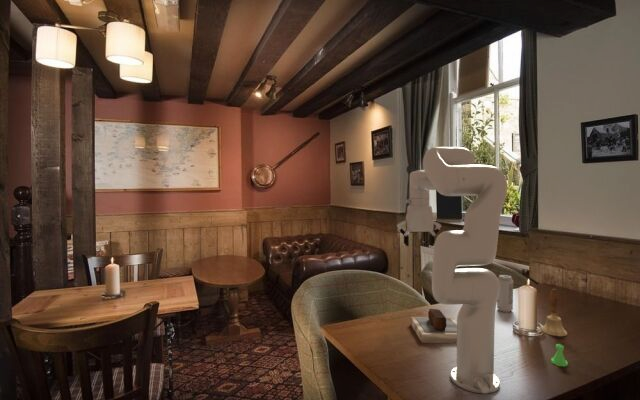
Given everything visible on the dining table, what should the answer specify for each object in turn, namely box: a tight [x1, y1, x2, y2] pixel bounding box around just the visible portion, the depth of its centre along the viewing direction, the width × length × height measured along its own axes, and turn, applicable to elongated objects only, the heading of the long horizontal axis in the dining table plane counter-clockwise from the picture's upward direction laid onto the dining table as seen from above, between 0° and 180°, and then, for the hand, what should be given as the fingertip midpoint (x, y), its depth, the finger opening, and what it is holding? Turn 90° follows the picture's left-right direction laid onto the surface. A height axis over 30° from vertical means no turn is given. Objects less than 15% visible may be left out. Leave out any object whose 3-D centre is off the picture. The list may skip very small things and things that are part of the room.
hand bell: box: [540, 288, 568, 337], centre depth 132 cm, size 8×8×16 cm
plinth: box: [410, 316, 457, 344], centre depth 132 cm, size 16×16×3 cm
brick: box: [427, 308, 447, 330], centre depth 131 cm, size 11×4×5 cm, turn 177°
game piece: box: [550, 343, 569, 368], centre depth 110 cm, size 4×4×6 cm
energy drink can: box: [496, 274, 514, 313], centre depth 154 cm, size 6×6×15 cm
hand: (418, 245), depth 143 cm, fingers open, 9 cm apart
